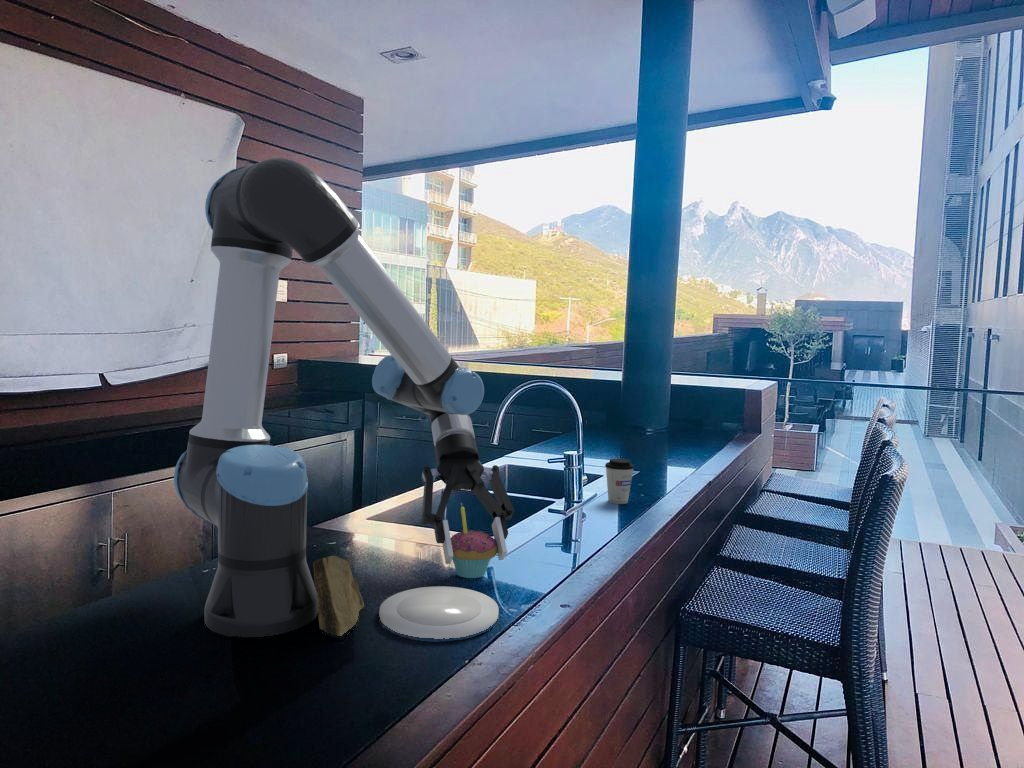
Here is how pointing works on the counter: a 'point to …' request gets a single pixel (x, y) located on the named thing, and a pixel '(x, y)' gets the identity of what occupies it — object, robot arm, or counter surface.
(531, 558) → the counter surface
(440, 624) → the plate
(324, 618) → the rock
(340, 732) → the counter surface
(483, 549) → the cupcake
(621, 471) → the coffee cup
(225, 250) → the robot arm
